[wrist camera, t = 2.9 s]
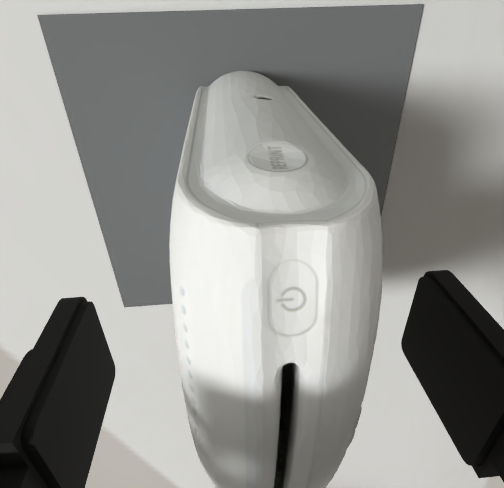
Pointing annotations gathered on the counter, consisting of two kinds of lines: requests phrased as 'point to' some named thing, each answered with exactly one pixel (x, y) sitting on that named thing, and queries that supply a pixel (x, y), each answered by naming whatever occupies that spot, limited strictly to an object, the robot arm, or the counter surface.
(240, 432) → the photo printer
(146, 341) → the counter surface
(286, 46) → the dark gray panel
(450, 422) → the robot arm
